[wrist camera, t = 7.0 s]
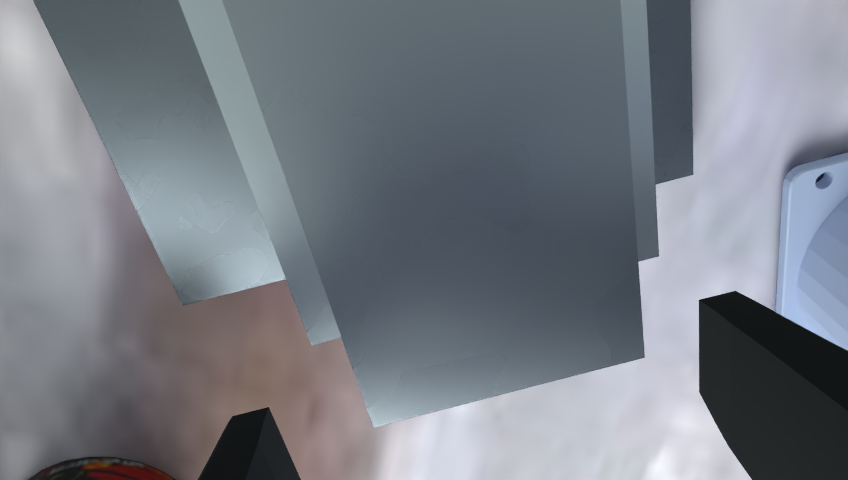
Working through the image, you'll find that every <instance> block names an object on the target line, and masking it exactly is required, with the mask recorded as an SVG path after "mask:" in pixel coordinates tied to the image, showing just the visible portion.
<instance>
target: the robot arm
mask: <svg viewBox="0 0 848 480" xmlns="http://www.w3.org/2000/svg"><path fill="white" fill-rule="evenodd" d="M823 173H824V176H823V178H822V179H821V180H820V181H819V182H817V183H815V182H816V179H817V178H818V177H819V176H820V175H821V174H823ZM699 392H700V394H701V396H702V398H703V400H704V402H705V404H706V406H707V408H708V409H709V411H710V413H711V415H712V417H713V419H714V421H715V423H716V424H717V426H718V428H719V430H720V432H721V433H722V435H723V437H724V439H725V441H726V442H727V444H728V446H729V447H730V449H731V450H732V452H733V453H734V455H735V456H736V458H737V459H738V460H739V462H740V463H741V465H742V466H743V467H744V469H745V470H746V472H747V473H748V474H749V476H750V477H751V479H752V480H848V153H844V154H840V155H836V156H832V157H828V158H824V159H820V160H817V161H813V162H809V163H805V164H801V165H799V166H796V167H794V168H793V169H792V170H791V171H789V172H788V174H787V175H786V177H785V179H784V182H783V193H782V211H781V228H780V246H779V263H778V281H777V299H776V312H774V311H772V310H771V309H769V308H767V307H765V306H763V305H761V304H760V303H758V302H756V301H754V300H752V299H750V298H748V297H746V296H744V295H742V294H740V293H738V292H736V291H733V292H729V293H725V294H721V295H717V296H713V297H709V298H705V299H701V300H699ZM198 480H301V479H300V477H299V475H298V472H297V470H296V468H295V466H294V463H293V461H292V459H291V457H290V454H289V452H288V450H287V448H286V445H285V443H284V441H283V438H282V436H281V434H280V432H279V429H278V427H277V425H276V423H275V420H274V418H273V416H272V413H271V411H270V409H269V407H268V408H264V409H260V410H256V411H252V412H248V413H244V414H240V415H236V416H232V418H231V419H230V421H229V422H228V424H227V426H226V428H225V430H224V431H223V433H222V435H221V437H220V439H219V441H218V443H217V445H216V447H215V448H214V450H213V452H212V454H211V456H210V458H209V460H208V462H207V464H206V465H205V467H204V469H203V471H202V473H201V475H200V477H199V478H198Z"/></svg>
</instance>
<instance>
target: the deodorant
mask: <svg viewBox="0 0 848 480" xmlns="http://www.w3.org/2000/svg"><path fill="white" fill-rule="evenodd" d="M29 480H174V479H172V478H171V477H169V476H168V475H166V474H165V473H164V472H162V471H159V470H157V469H154V468H152V467H149V466H147V465H145V464H142V463H139V462H134V461H129V460H124V459H119V458H99V457H88V458H82V459H76V460H70V461H64V462H61V463H59V464H56V465H54V466H51V467H49V468H46V469H43V470H41V471H40V472H39V473H37V474H36V475H34V476H33V477H31V478H30V479H29Z"/></svg>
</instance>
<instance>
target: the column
mask: <svg viewBox="0 0 848 480" xmlns="http://www.w3.org/2000/svg"><path fill="white" fill-rule="evenodd" d="M178 1H179V3H180V6H181V8H182V11H183V13H184V16H185V19H186V21H187V24H188V26H189V29H190V32H191V34H192V37H193V39H194V42H195V45H196V47H197V50H198V52H199V55H200V58H201V60H202V63H203V65H204V68H205V70H206V73H207V76H208V78H209V81H210V83H211V86H212V89H213V91H214V94H215V96H216V99H217V102H218V104H219V107H220V109H221V112H222V115H223V117H224V120H225V122H226V125H227V128H228V130H229V133H230V135H231V138H232V140H233V143H234V146H235V148H236V151H237V153H238V156H239V159H240V161H241V164H242V166H243V169H244V172H245V174H246V177H247V179H248V182H249V185H250V187H251V190H252V192H253V195H254V197H255V200H256V203H257V205H258V208H259V210H260V213H261V216H262V218H263V221H264V223H265V226H266V229H267V231H268V234H269V236H270V239H271V242H272V244H273V247H274V249H275V252H276V255H277V257H278V260H279V262H280V265H281V267H282V270H283V273H284V275H285V278H286V280H287V283H288V286H289V288H290V291H291V293H292V296H293V299H294V301H295V304H296V306H297V309H298V312H299V314H300V317H301V319H302V322H303V325H304V327H305V330H306V332H307V335H308V337H309V340H310V343H311V345H316V344H319V343H323V342H327V341H331V340H335V339H339V338H342V340H343V343H344V346H345V349H346V351H347V354H348V357H349V360H350V363H351V365H352V368H353V371H354V374H355V377H356V380H357V382H358V385H359V388H360V391H361V394H362V397H363V399H364V402H365V405H366V408H367V411H368V413H369V416H370V419H371V422H372V425H373V427H377V426H381V425H385V424H389V423H393V422H397V421H400V420H404V419H408V418H412V417H416V416H420V415H424V414H428V413H432V412H435V411H439V410H443V409H447V408H451V407H455V406H459V405H463V404H466V403H470V402H474V401H478V400H482V399H486V398H490V397H494V396H497V395H501V394H505V393H509V392H513V391H517V390H521V389H525V388H528V387H532V386H536V385H540V384H544V383H548V382H552V381H556V380H559V379H563V378H567V377H571V376H575V375H579V374H583V373H587V372H590V371H594V370H598V369H602V368H606V367H610V366H614V365H618V364H621V363H625V362H629V361H633V360H637V359H641V358H645V356H644V341H643V326H642V311H641V296H640V282H639V267H638V261H642V260H646V259H650V258H654V257H658V256H659V249H658V228H657V208H656V187H655V167H654V147H653V126H652V106H651V86H650V65H649V45H648V24H647V4H646V0H178Z"/></svg>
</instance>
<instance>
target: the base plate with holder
mask: <svg viewBox="0 0 848 480" xmlns="http://www.w3.org/2000/svg"><path fill="white" fill-rule="evenodd" d="M33 1H34V3H35V5H36V7H37V9H38V11H39V13H40V15H41V17H42V19H43V21H44V23H45V25H46V27H47V29H48V31H49V34H50V36H51V38H52V40H53V42H54V44H55V46H56V48H57V50H58V52H59V54H60V56H61V58H62V60H63V62H64V64H65V66H66V68H67V70H68V72H69V74H70V76H71V78H72V80H73V82H74V84H75V87H76V89H77V91H78V93H79V95H80V97H81V99H82V101H83V103H84V105H85V107H86V109H87V111H88V113H89V115H90V117H91V119H92V121H93V123H94V125H95V127H96V129H97V131H98V133H99V135H100V138H101V140H102V142H103V144H104V146H105V148H106V150H107V152H108V154H109V156H110V158H111V160H112V162H113V164H114V166H115V168H116V170H117V172H118V174H119V176H120V178H121V180H122V182H123V184H124V186H125V189H126V191H127V193H128V195H129V197H130V199H131V201H132V203H133V205H134V207H135V209H136V211H137V213H138V215H139V217H140V219H141V221H142V223H143V225H144V227H145V229H146V231H147V233H148V235H149V237H150V239H151V242H152V244H153V246H154V248H155V250H156V252H157V254H158V256H159V258H160V260H161V262H162V264H163V266H164V268H165V270H166V272H167V274H168V276H169V278H170V280H171V282H172V284H173V286H174V288H175V290H176V293H177V295H178V297H179V299H180V301H181V303H182V305H187V304H191V303H195V302H198V301H202V300H206V299H210V298H214V297H218V296H222V295H226V294H230V293H234V292H237V291H241V290H245V289H249V288H253V287H257V286H261V285H265V284H269V283H273V282H276V281H280V280H284V279H286V278H285V275H284V273H283V270H282V267H281V265H280V262H279V260H278V257H277V255H276V252H275V249H274V247H273V244H272V242H271V239H270V236H269V234H268V231H267V229H266V226H265V223H264V221H263V218H262V216H261V213H260V210H259V208H258V205H257V203H256V200H255V197H254V195H253V192H252V190H251V187H250V185H249V182H248V179H247V177H246V174H245V172H244V169H243V166H242V164H241V161H240V159H239V156H238V153H237V151H236V148H235V146H234V143H233V140H232V138H231V135H230V133H229V130H228V128H227V125H226V122H225V120H224V117H223V115H222V112H221V109H220V107H219V104H218V102H217V99H216V96H215V94H214V91H213V89H212V86H211V83H210V81H209V78H208V76H207V73H206V70H205V68H204V65H203V63H202V60H201V58H200V55H199V52H198V50H197V47H196V45H195V42H194V39H193V37H192V34H191V32H190V29H189V26H188V24H187V21H186V19H185V16H184V13H183V11H182V8H181V6H180V3H179V1H178V0H33ZM646 4H647V24H648V45H649V65H650V86H651V106H652V126H653V147H654V167H655V184H659V183H663V182H666V181H670V180H674V179H678V178H682V177H686V176H690V175H693V129H692V71H691V14H690V0H646Z"/></svg>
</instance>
